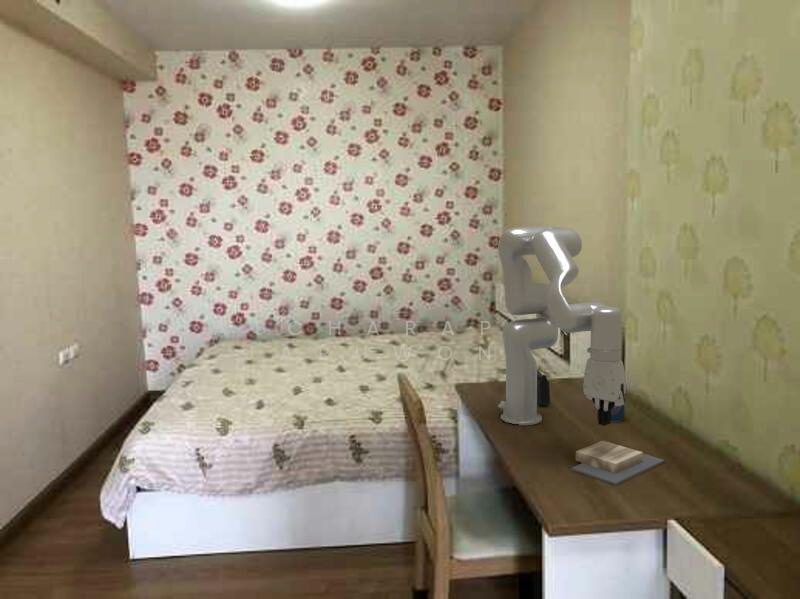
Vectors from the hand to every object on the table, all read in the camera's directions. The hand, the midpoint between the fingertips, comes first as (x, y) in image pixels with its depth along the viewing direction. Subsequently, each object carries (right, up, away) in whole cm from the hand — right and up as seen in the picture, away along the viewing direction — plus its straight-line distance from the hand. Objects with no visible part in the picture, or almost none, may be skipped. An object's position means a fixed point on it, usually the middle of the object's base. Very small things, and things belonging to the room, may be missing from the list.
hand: (604, 423), depth 184 cm
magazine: (-5, -1, +64) cm, 64 cm away
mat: (+3, -11, -2) cm, 11 cm away
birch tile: (-3, -8, +5) cm, 9 cm away
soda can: (+13, -5, +36) cm, 38 cm away
